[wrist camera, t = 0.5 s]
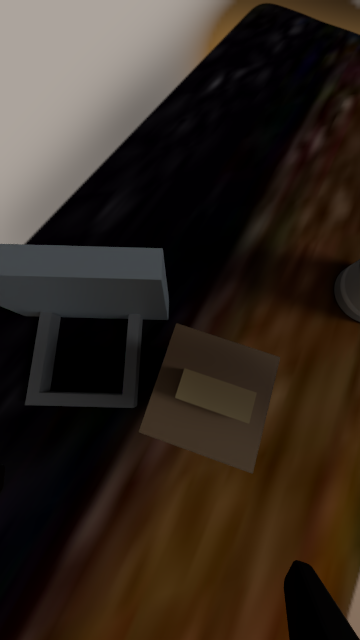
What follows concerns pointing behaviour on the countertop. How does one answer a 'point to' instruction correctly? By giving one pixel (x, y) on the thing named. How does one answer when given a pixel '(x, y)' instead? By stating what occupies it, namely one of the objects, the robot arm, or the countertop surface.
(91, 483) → the countertop surface
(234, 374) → the brown box with handle
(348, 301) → the travel mug
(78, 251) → the grey stool
